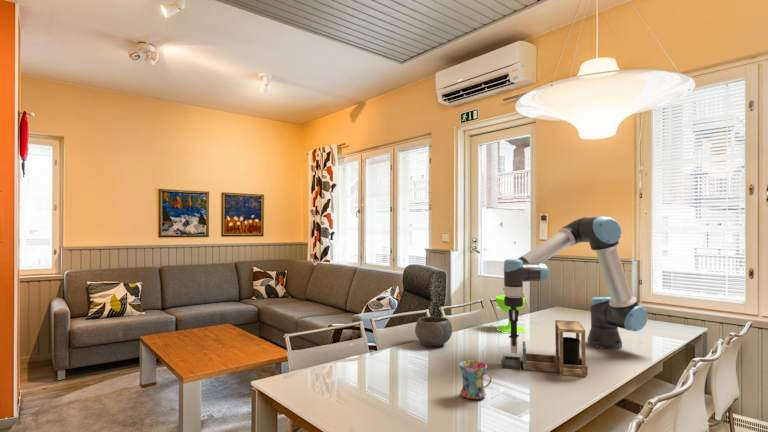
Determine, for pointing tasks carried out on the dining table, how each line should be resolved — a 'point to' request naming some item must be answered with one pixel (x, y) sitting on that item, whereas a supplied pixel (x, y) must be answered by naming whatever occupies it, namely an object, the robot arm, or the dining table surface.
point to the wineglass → (506, 308)
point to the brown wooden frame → (559, 329)
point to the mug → (473, 379)
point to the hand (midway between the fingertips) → (514, 352)
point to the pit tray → (511, 362)
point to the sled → (546, 362)
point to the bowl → (433, 330)
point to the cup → (570, 350)
